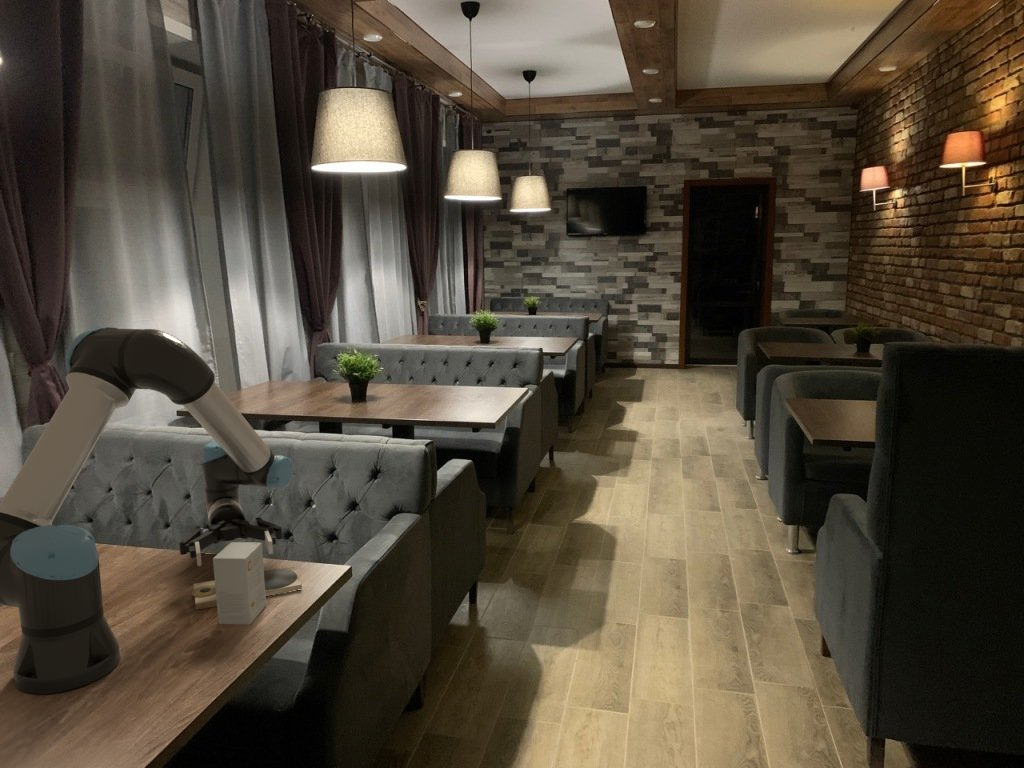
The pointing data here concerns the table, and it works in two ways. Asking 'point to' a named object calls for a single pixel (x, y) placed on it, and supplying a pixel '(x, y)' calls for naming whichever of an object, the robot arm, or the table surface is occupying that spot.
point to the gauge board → (273, 579)
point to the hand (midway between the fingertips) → (235, 553)
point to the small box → (239, 582)
